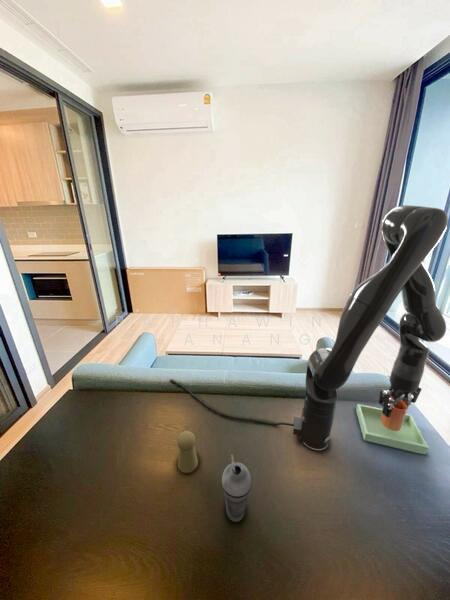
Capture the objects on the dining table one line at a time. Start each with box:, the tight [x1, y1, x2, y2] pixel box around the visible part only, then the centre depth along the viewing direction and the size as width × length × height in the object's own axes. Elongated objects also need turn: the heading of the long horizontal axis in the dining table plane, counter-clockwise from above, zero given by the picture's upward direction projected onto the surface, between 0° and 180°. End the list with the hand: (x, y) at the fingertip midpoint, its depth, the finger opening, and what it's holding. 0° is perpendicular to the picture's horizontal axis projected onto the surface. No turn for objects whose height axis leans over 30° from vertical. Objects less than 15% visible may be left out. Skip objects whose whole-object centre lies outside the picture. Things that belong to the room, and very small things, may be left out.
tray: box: [355, 403, 429, 455], centre depth 85 cm, size 18×14×3 cm
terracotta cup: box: [381, 397, 409, 431], centre depth 82 cm, size 6×6×9 cm
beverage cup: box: [220, 453, 252, 523], centre depth 59 cm, size 7×7×20 cm
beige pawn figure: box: [176, 430, 199, 474], centre depth 72 cm, size 6×6×11 cm
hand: (393, 413), depth 82 cm, fingers closed on terracotta cup, 6 cm apart
